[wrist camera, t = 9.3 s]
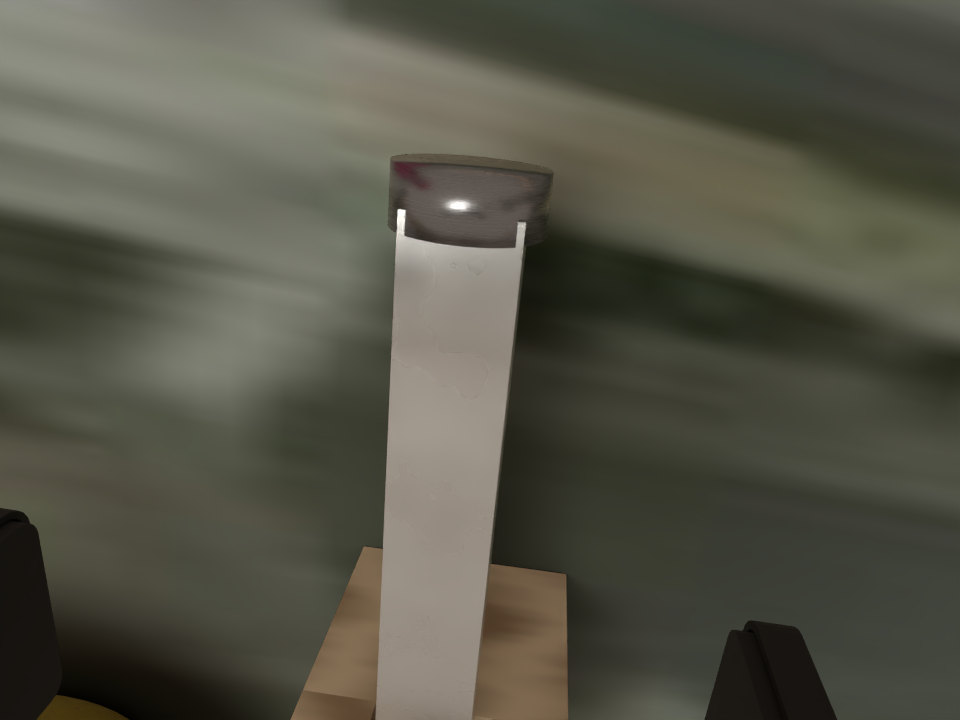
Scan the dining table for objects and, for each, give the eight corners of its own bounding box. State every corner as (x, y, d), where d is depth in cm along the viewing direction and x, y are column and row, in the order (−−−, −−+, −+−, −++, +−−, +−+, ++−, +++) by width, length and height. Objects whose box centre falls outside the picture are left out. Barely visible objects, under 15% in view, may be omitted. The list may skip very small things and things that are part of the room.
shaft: (554, 164, 19) (552, 183, 15) (476, 808, 28) (463, 916, 25) (408, 149, 19) (372, 165, 16) (377, 792, 29) (351, 897, 25)
